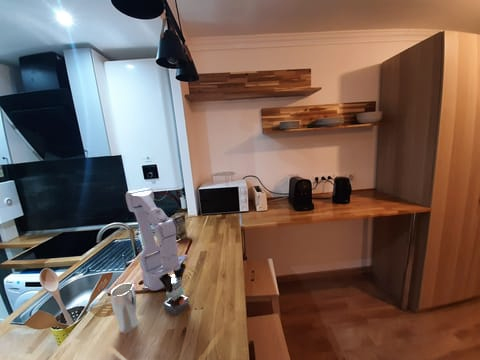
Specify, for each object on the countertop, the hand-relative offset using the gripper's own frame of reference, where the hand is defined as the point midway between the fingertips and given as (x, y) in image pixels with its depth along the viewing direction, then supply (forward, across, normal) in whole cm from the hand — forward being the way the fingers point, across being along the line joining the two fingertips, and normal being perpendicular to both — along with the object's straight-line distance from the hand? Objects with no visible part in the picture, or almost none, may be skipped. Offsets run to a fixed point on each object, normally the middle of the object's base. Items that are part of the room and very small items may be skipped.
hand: (174, 287), depth 74 cm
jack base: (+9, 0, 0) cm, 9 cm away
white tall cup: (+10, -13, +9) cm, 19 cm away
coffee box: (+10, +43, +46) cm, 64 cm away
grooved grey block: (+3, 0, 0) cm, 3 cm away
